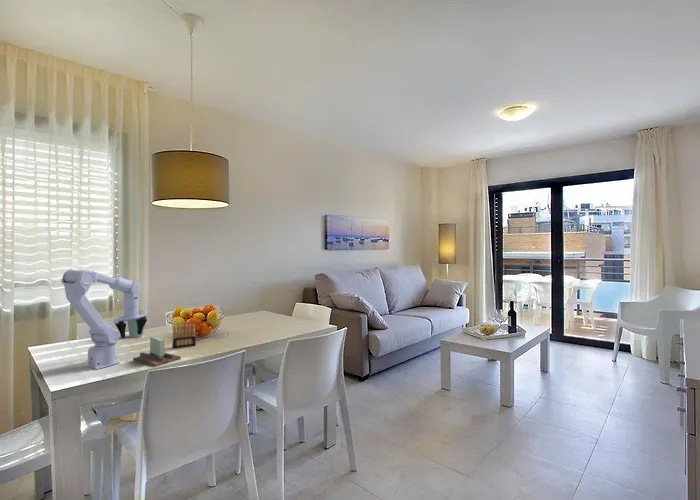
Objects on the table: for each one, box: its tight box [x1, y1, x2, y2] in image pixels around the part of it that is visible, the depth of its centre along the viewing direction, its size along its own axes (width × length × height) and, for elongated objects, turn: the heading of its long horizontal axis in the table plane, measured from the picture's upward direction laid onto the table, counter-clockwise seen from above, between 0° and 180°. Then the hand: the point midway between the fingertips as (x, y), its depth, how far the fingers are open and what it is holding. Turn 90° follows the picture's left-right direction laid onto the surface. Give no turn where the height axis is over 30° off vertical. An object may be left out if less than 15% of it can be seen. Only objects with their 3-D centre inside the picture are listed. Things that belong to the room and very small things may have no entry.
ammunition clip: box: [172, 322, 197, 349], centre depth 185 cm, size 11×2×12 cm, turn 120°
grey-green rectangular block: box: [149, 335, 165, 357], centre depth 163 cm, size 2×10×7 cm, turn 51°
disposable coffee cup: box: [127, 309, 149, 339], centre depth 204 cm, size 11×11×15 cm
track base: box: [132, 352, 181, 368], centre depth 164 cm, size 12×16×3 cm
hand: (131, 335), depth 169 cm, fingers open, 7 cm apart
